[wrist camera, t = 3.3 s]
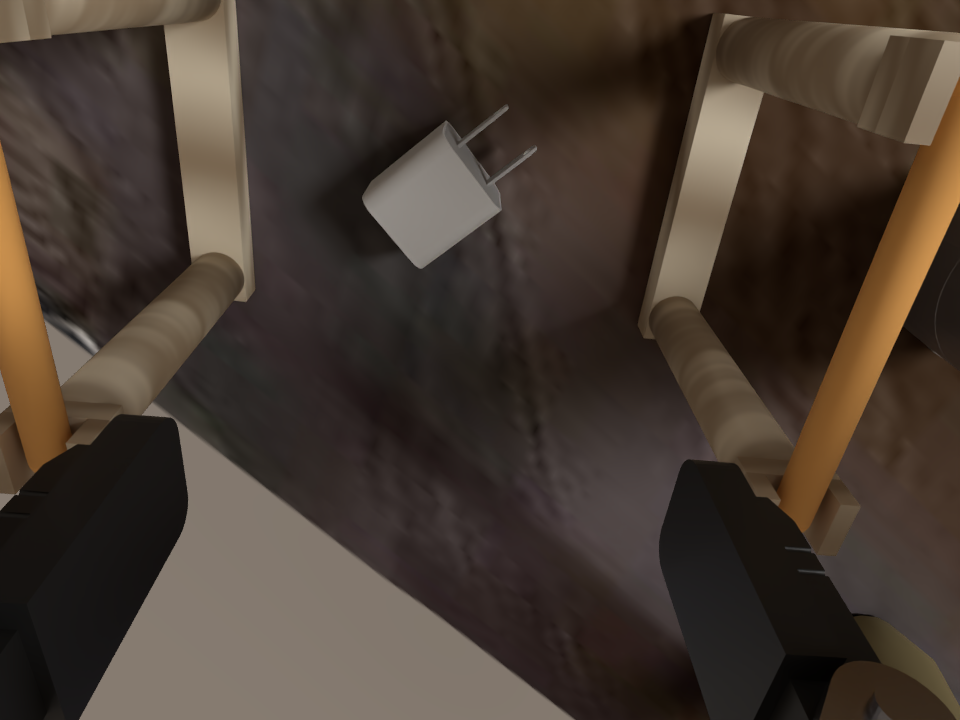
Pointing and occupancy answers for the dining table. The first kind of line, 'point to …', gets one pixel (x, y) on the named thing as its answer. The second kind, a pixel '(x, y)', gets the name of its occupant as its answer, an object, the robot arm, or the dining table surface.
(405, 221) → the usb wall charger
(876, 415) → the dining table surface
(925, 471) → the dining table surface
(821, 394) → the orange wooden rod
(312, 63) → the dining table surface
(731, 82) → the wooden parallette bars
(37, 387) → the orange rod
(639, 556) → the dining table surface
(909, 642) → the squeeze bottle
